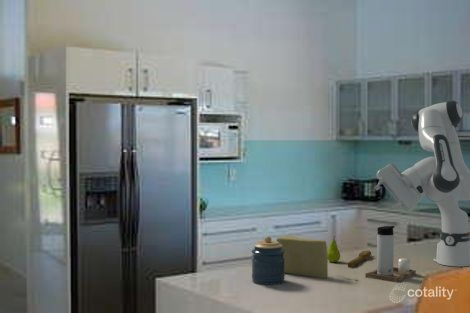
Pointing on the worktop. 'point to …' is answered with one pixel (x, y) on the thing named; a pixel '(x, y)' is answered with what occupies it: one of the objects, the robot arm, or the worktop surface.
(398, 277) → the tray
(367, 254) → the tap handle
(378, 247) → the travel mug
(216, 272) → the worktop surface
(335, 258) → the fruit
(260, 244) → the canister
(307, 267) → the cheese
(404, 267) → the white egg
